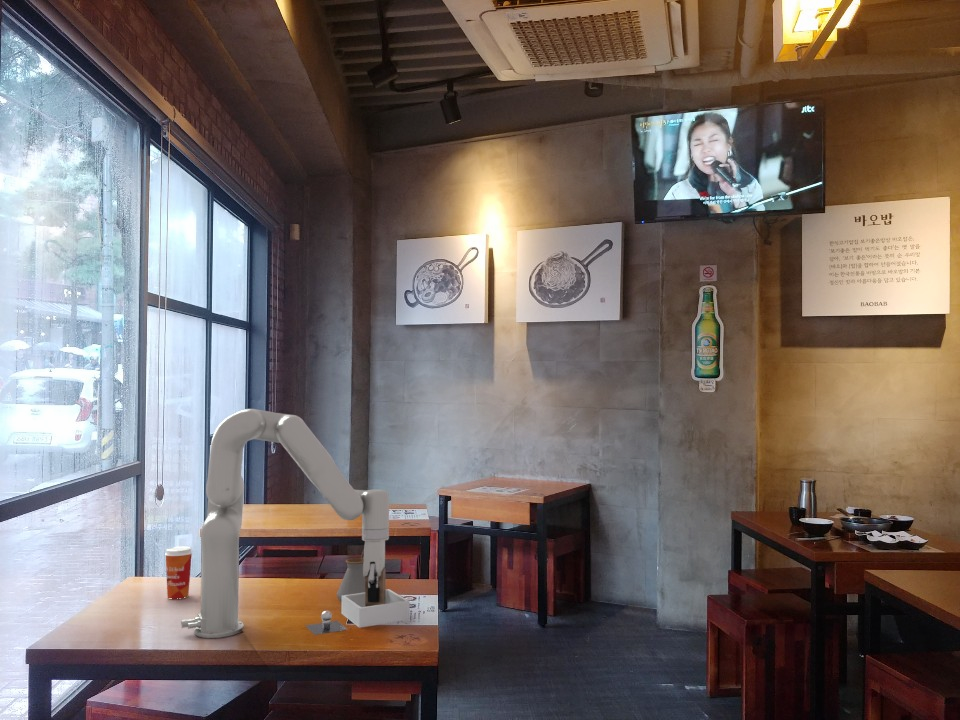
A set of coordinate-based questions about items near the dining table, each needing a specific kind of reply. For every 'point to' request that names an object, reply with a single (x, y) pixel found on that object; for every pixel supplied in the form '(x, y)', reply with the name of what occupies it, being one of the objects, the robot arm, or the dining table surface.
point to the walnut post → (382, 590)
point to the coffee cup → (178, 571)
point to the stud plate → (322, 631)
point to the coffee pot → (353, 578)
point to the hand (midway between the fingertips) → (375, 598)
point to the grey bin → (375, 609)
